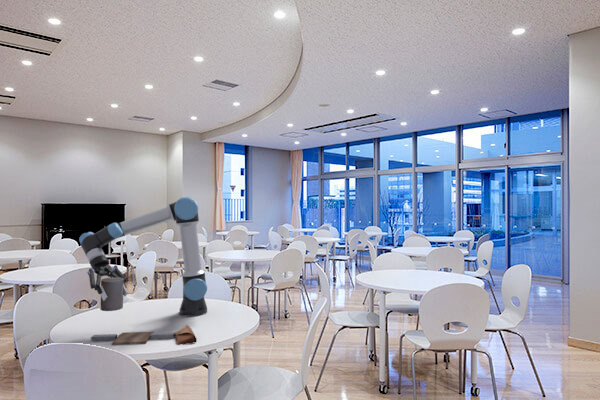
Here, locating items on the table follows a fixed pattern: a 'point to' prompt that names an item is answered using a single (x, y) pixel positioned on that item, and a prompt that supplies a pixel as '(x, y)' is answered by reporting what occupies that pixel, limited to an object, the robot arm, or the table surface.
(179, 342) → the sunglasses case
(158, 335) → the chain ends
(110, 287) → the pillar candle
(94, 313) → the table surface
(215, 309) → the table surface
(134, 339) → the brown wooden square board
